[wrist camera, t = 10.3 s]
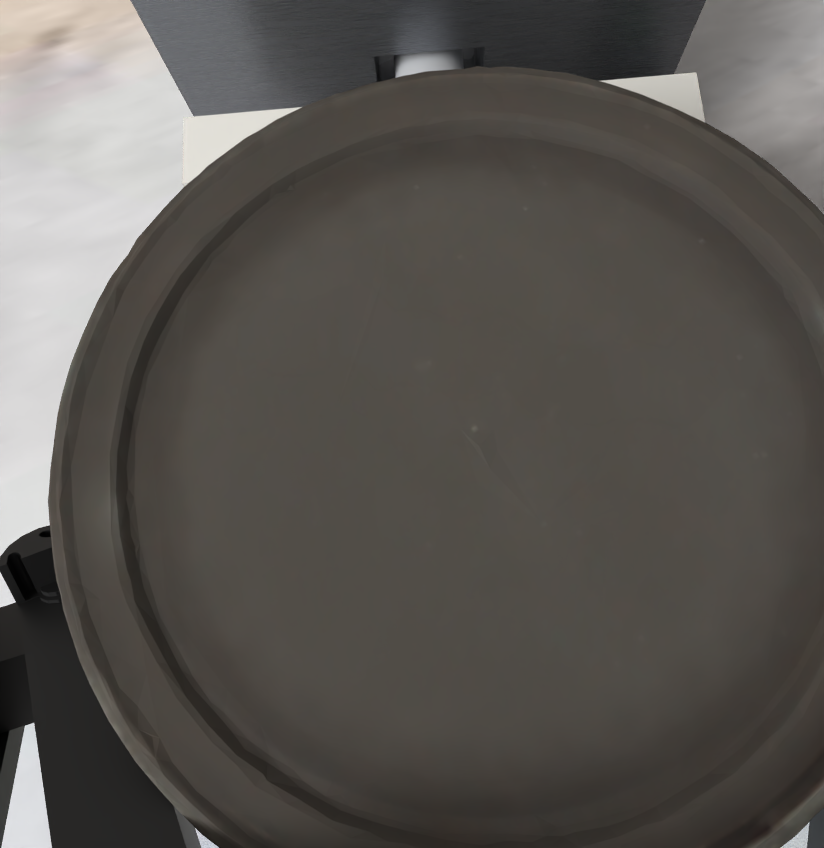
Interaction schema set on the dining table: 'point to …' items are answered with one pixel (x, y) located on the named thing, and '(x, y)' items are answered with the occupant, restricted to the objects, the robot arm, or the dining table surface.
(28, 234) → the dining table surface
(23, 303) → the dining table surface
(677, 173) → the coffee can
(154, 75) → the dining table surface
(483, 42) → the frame
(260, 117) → the pressure pad
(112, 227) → the dining table surface
